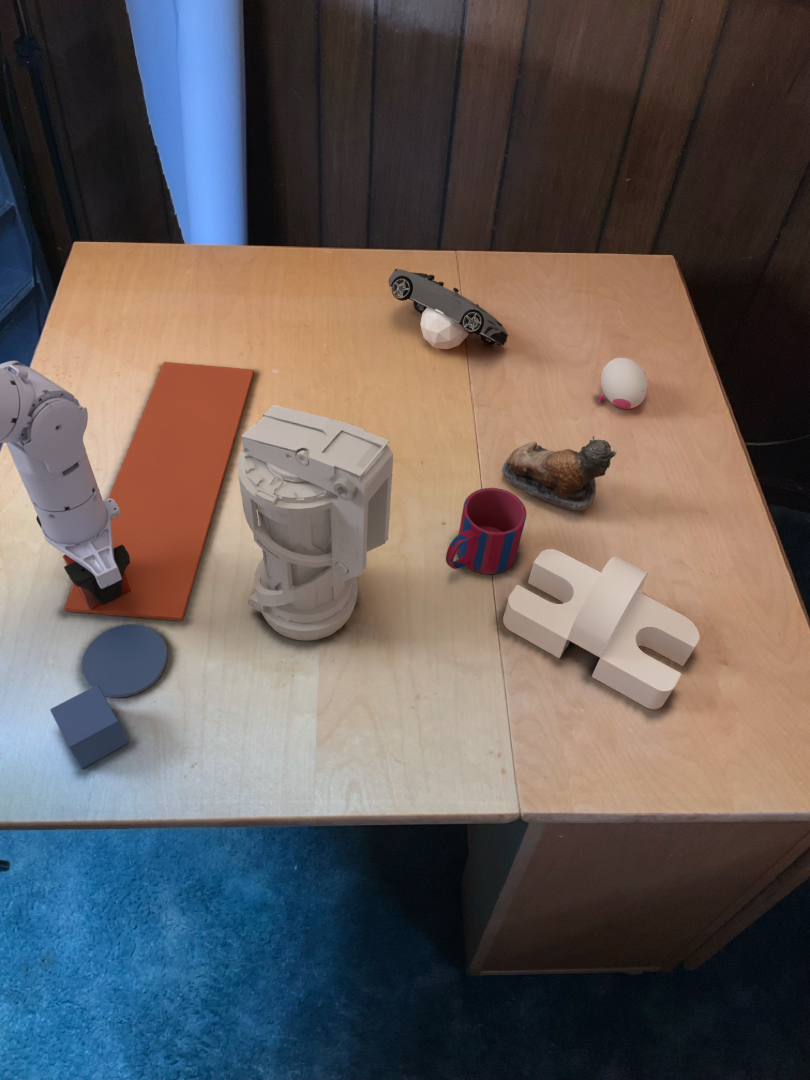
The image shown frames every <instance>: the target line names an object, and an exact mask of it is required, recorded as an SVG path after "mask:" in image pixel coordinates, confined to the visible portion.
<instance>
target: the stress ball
mask: <svg viewBox="0 0 810 1080" xmlns="http://www.w3.org/2000/svg"><path fill="white" fill-rule="evenodd" d="M648 383H649V382H648V378H647V376H646V373H645V371H644V369H643V368H642V367H641V366H640V365H639V363H637V362H636V361H635V360H633V359H631V358H628V357H614V358H613V359H611V360H610V361H608V362H607V363H606V364H605V366H604V367H603V369H602V371H601V375H600V386H601V389H602V392H603V394H604V395H602V396H599V397H598V401H599V402H600V403H601V402H602V400H603V399H604V397H605V398H606V399H607V400H608V401H609V402H610V404H612V405H614V406H616V407H617V408H620V409H627V410H628V409H629V410H630V409H634V408H636V407H638V406H639V405H641V404H642V403H643V402H644V400H645V398H647V394H648V388H649V384H648Z"/></svg>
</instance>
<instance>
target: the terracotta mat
mask: <svg viewBox="0 0 810 1080" xmlns="http://www.w3.org/2000/svg"><path fill="white" fill-rule="evenodd" d="M254 370H255V369H252V368H241V367H240V368H239V367H231V366H230V367H229V366H217V365H215V366H214V365H205V364H194V363H193V364H192V363H183V362H181V363H180V362H169V361H163V364H162V366H161V367H160V371H159V373H158V376H157V378H156V381H155V383H154V385H153V388H152V390H151V393H150V396H149V398H148V401H147V402H146V405H145V408H144V411H143V412H142V415H141V418H140V420H139V423H138V425H137V427H136V430H135V432H134V435H133V436H132V437H133V438H132V440H131V442H130V445H129V447H128V449H127V452H126V454H125V457H124V459H123V462H122V464H121V467H120V470H119V471H118V474H117V477H116V480H115V482H114V484H113V487H112V488H111V492H110V494H109V496H108V499H109V498H111V499H114V500H115V502H116V503H117V505H118V506H119V509H120V512H121V513H120V515H119V516H117V517H115V518H113V519H112V521H111V524H112V537H113V548H115V547H118V546H120V545H122V544H123V545H124V547H125V549H126V550H127V552H128V553H129V556H130V563H129V565H128V566H127V567H126V569H125V571H124V572H125V575H126V578H127V581H128V584H129V586H130V589H131V591H130V592H128V593H126V594H124V595H122V596H121V597H120V598H117V599H115V600H113V601H111V602H109V603H107V604H105V605H101V606H99V607H96V608H94V609H92V610H90V609H89V608H88V606H87V604H86V602H85V601H84V599H83V597H82V596H81V594H80V592H79V590H78V589H77V587H76V585H75V584H74V583H73V585H72V587H71V589H70V592H69V594H68V597H67V599H66V602H65V605H64V606H63V609H64V611H65V612H71V613H72V612H73V613H83V614H95V615H106V616H107V615H108V616H119V617H131V618H143V619H153V620H165V621H166V620H167V621H179V622H183V620H184V617H185V614H186V611H187V608H188V607H187V606H188V603H189V599H190V596H191V593H192V589H193V586H194V583H195V578H196V576H197V572H198V569H199V565H200V562H201V558H202V555H203V552H204V551H203V550H204V548H205V544H206V542H207V538H208V534H209V530H210V527H211V523H212V521H213V516H214V513H215V510H216V506H217V503H218V499H219V496H220V493H221V489H222V485H223V482H224V480H225V479H224V478H225V475H226V471H227V468H228V464H229V461H230V458H231V455H232V450H233V447H234V444H235V440H236V437H237V434H238V430H239V428H240V427H239V426H240V423H241V419H242V416H243V413H244V409H245V405H246V402H247V398H248V396H249V392H250V389H251V385H252V382H253V378H254V375H255V371H254Z"/></svg>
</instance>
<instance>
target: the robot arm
mask: <svg viewBox="0 0 810 1080" xmlns="http://www.w3.org/2000/svg"><path fill="white" fill-rule="evenodd" d="M88 420H89V412H88V408H87V407H85V406H84V407H83V405H81V403H80V401H79V400H78V399H77V398H76V396H75V395H73V394H72V393H71V392H69V391H68V390H67V389H65V388H63V387H61V386H60V385H59V384H57V383H55V382H54V381H53V380H51V379H49V378H48V377H47V376H45V375H43V374H42V373H40V372H38V371H37V370H35V369H33V368H32V367H29V366H27V365H26V364H23V363H21V362H20V361H18V360H10V361H9V360H8V361H6V362H3V363H0V443H1V444H6V446H7V449H8V451H9V453H10V455H11V458H12V461H13V463H14V465H15V468H16V470H17V473H18V474H19V477H20V479H21V482H22V483H23V486H24V488H25V490H26V492H27V495H28V497H29V499H30V501H31V505H32V506H33V509H34V511H35V513H36V522H37V524H38V525H39V527H40V529H41V531H42V534H43V537H44V539H45V541H46V542H47V543H48V544H49V545H51V546H52V547H53V548H55V549H57V550H58V551H59V552H60V553H62V554H63V555H67V556H68V557H70V558H71V559H73V560H74V561H76V562H73V563H71V564H69V565H67V566H66V565H65V566H63V569H64V571H65V572H66V574H67V576H68V578H69V579H70V581H71V582H72V583H73V585H74V584H75V585H76V586H78V587H82V588H85V589H87V590H88V591H89V592H90V593H91V594H92V595H93V596H94V598H95V599H96V600H97V601H98V602H99V603H100V604H101V605H105V604H107V603H109V602H111V601H113V600H115V599H117V598H120V597H121V593H122V577H123V573H124V571H125V569H126V567H127V566H128V565H129V563H130V556H129V553H128V552H127V550H126V549H125V547H124V545H123V544H122V545H120V546H118V547H115V548H113V537H112V524H111V521H112V519H113V518H115V517H117V516H119V515H120V513H121V512H120V509H119V506H118V505H117V503H116V502H115V500H114V499H111V498H109V497H108V498H106V499H103V497H102V494H101V491H100V488H99V485H98V482H97V480H96V476H95V474H94V471H93V468H92V465H91V461H90V459H89V457H88V454H87V450H86V449H87V448H86V446H85V442H84V435H85V433H86V430H87V427H88V422H89V421H88Z"/></svg>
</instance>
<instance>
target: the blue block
mask: <svg viewBox="0 0 810 1080" xmlns="http://www.w3.org/2000/svg"><path fill="white" fill-rule="evenodd" d="M49 711H50V713H51V715H52V717H53V720H54V721H55V723H56V725H57V727H58V729H59V731H60V733H61V736H62V737H63V739H64V741H65V743H66V745H67V747H68V749H69V750H70V752H71V754H72V755H73V758H74V759H75V760H76V762H77V764H78V765H79V767H80V768H81V769H84V768H86V767H88V766H90V765H92V764H93V763H94V764H95V762H97V761H99V760H101V759H103V758H104V757H106V756H109V755H110V754H112V753H114V752H116V751H117V750H119V749H121V748H122V747H124V746H126V745H128V743H129V741H128V739H127V736H126V734H125V732H124V730H123V727H122V725H121V724H120V722H119V720H118V718H117V716H116V714H115V712H114V710H113V709H112V707H111V705H110V703H109V701H108V700H107V697H106V696H104V694H103V692H102V690H101V689H100V687H99V685H96V686H94V687H92V688H91V687H89V688H88V689H86V690H84V691H82V692H81V693H79V694H77V695H75V696H73V697H71V698H69V699H67V700H65V701H63V702H62V703H61V702H60V703H59V704H57V705H55V706H53V707H51V708H50V709H49Z"/></svg>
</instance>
